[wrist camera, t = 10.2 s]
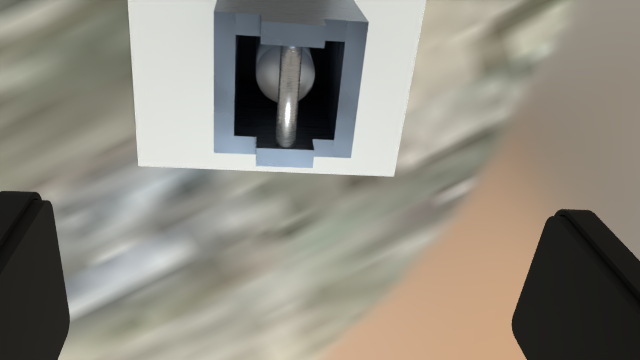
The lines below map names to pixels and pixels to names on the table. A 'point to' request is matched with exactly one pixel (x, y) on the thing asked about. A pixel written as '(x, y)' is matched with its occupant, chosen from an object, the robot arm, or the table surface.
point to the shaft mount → (260, 85)
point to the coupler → (289, 80)
